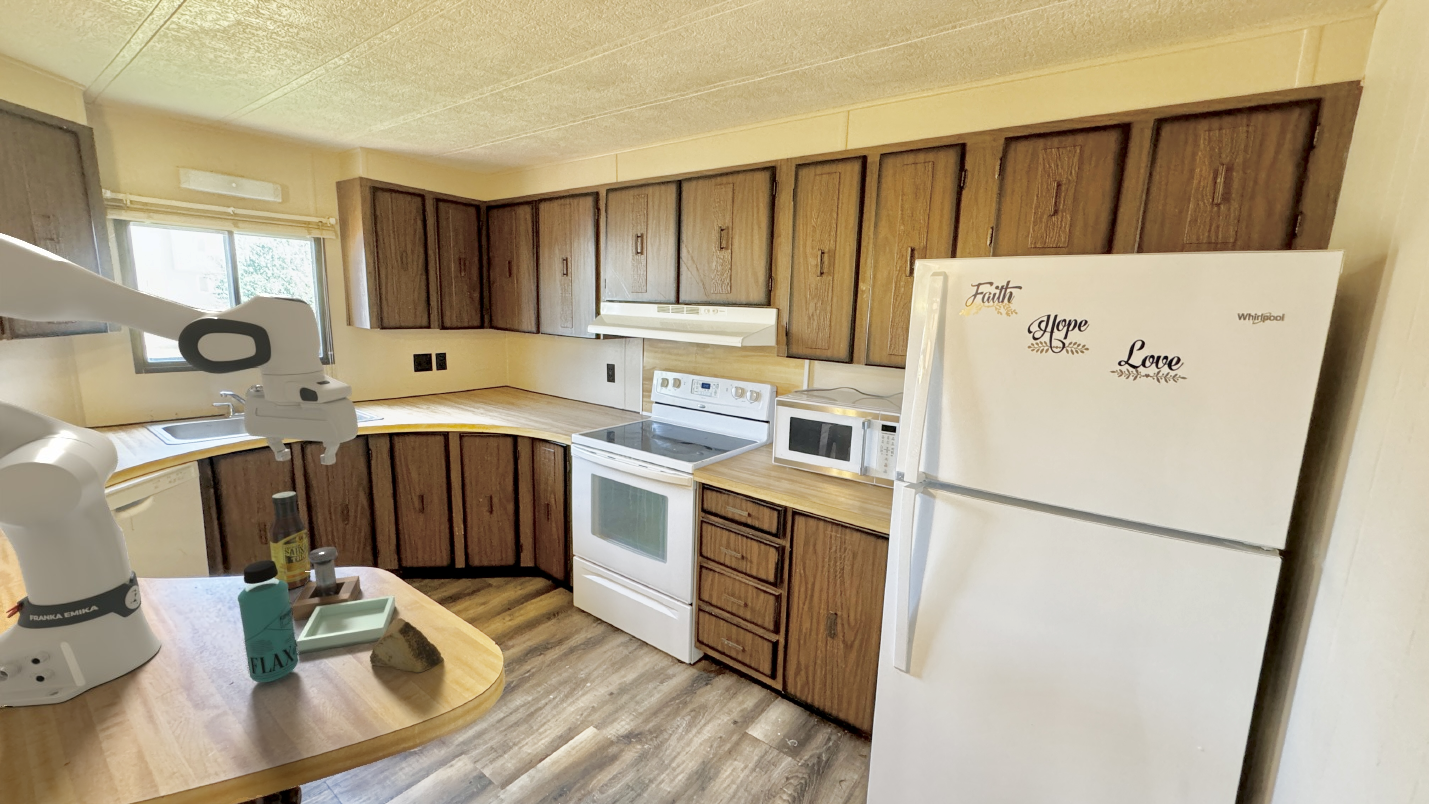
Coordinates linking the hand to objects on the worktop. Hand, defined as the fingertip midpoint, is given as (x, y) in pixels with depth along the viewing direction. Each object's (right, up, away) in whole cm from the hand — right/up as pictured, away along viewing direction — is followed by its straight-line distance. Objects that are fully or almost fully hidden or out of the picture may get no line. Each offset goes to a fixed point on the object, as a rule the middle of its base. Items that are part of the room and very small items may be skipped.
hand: (306, 461), depth 100 cm
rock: (+22, -34, -6) cm, 41 cm away
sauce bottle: (-15, -28, +17) cm, 36 cm away
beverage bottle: (+3, -34, -10) cm, 36 cm away
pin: (-3, -30, +10) cm, 31 cm away
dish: (+7, -31, +2) cm, 32 cm away
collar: (-3, -30, +10) cm, 31 cm away
